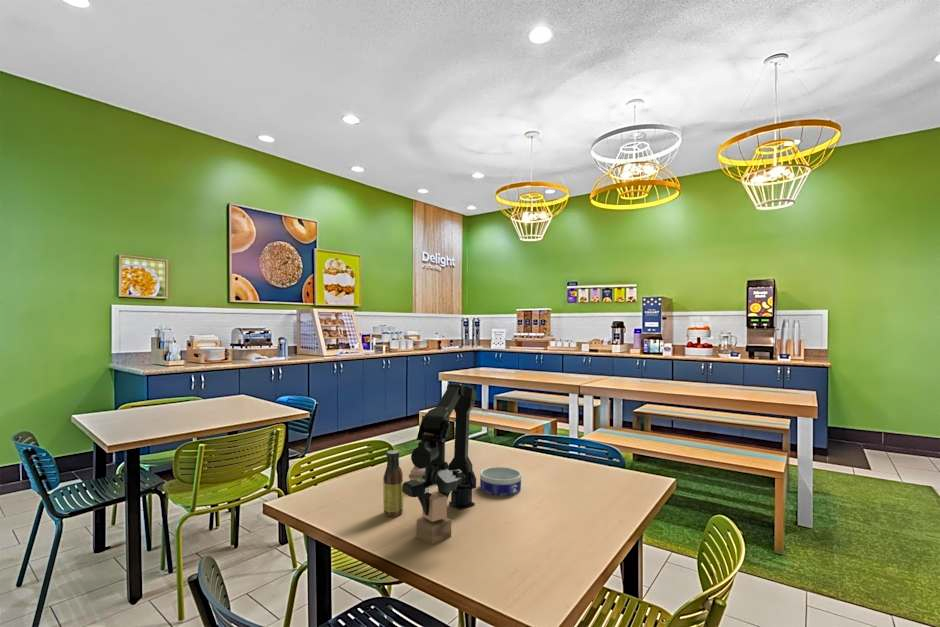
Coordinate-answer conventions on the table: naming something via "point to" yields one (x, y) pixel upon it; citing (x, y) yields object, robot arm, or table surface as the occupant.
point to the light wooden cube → (436, 507)
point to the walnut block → (433, 529)
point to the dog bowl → (500, 481)
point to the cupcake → (417, 474)
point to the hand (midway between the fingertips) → (434, 512)
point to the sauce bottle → (393, 485)
